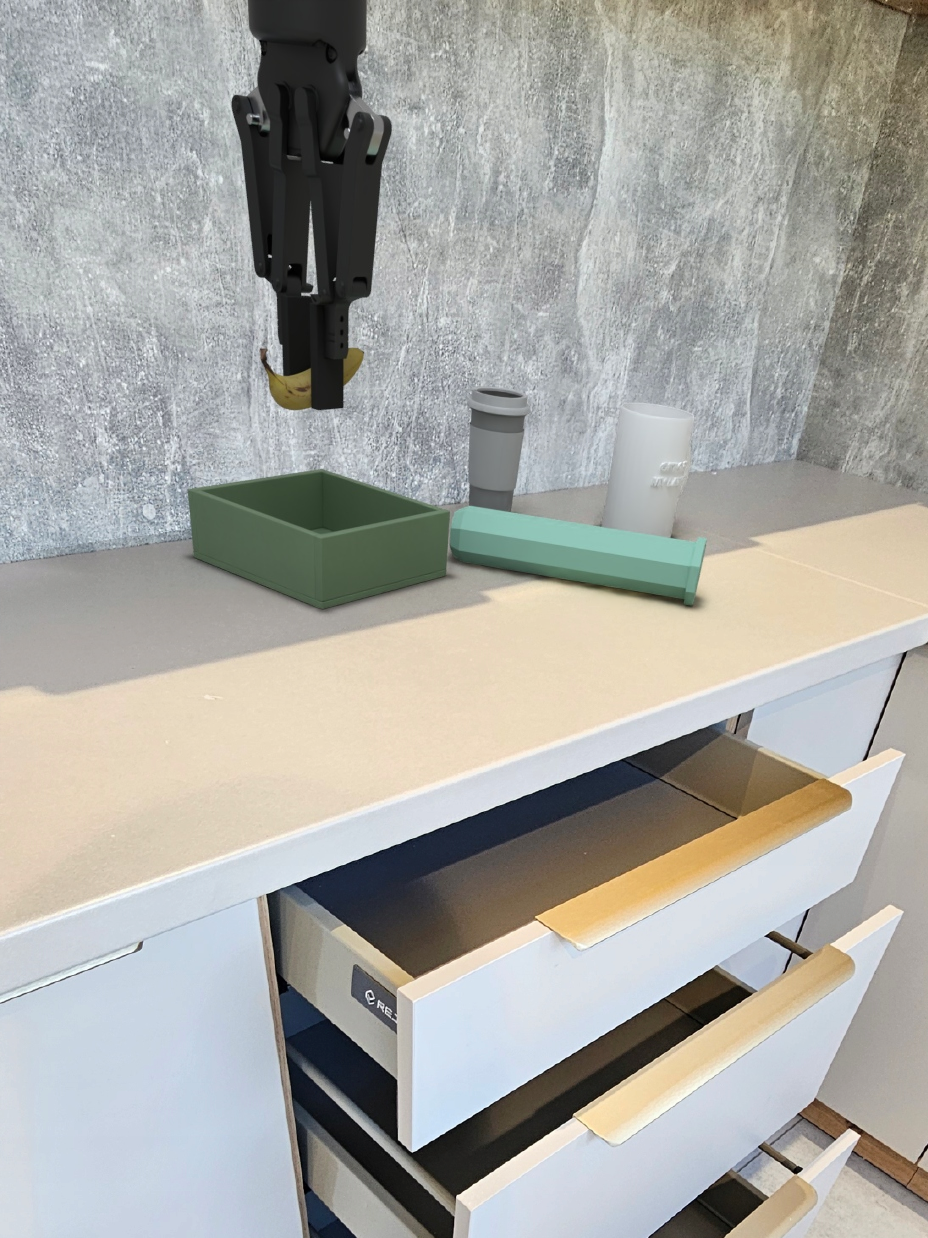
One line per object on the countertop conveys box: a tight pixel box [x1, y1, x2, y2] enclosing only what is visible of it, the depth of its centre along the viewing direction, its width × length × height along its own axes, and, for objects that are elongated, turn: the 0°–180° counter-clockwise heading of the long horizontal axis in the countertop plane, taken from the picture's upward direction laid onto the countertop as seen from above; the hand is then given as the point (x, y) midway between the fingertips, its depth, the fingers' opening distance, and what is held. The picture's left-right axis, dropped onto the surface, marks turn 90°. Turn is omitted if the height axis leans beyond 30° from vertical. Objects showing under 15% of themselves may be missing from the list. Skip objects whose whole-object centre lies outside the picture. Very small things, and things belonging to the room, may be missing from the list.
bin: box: [187, 468, 451, 610], centre depth 92 cm, size 17×17×6 cm
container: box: [449, 505, 708, 607], centre depth 98 cm, size 6×6×25 cm
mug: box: [601, 402, 695, 538], centre depth 111 cm, size 8×12×12 cm
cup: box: [466, 385, 531, 512], centre depth 109 cm, size 7×7×12 cm
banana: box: [259, 347, 365, 411], centre depth 78 cm, size 10×2×4 cm, turn 139°
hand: (313, 403), depth 79 cm, fingers closed on banana, 2 cm apart
